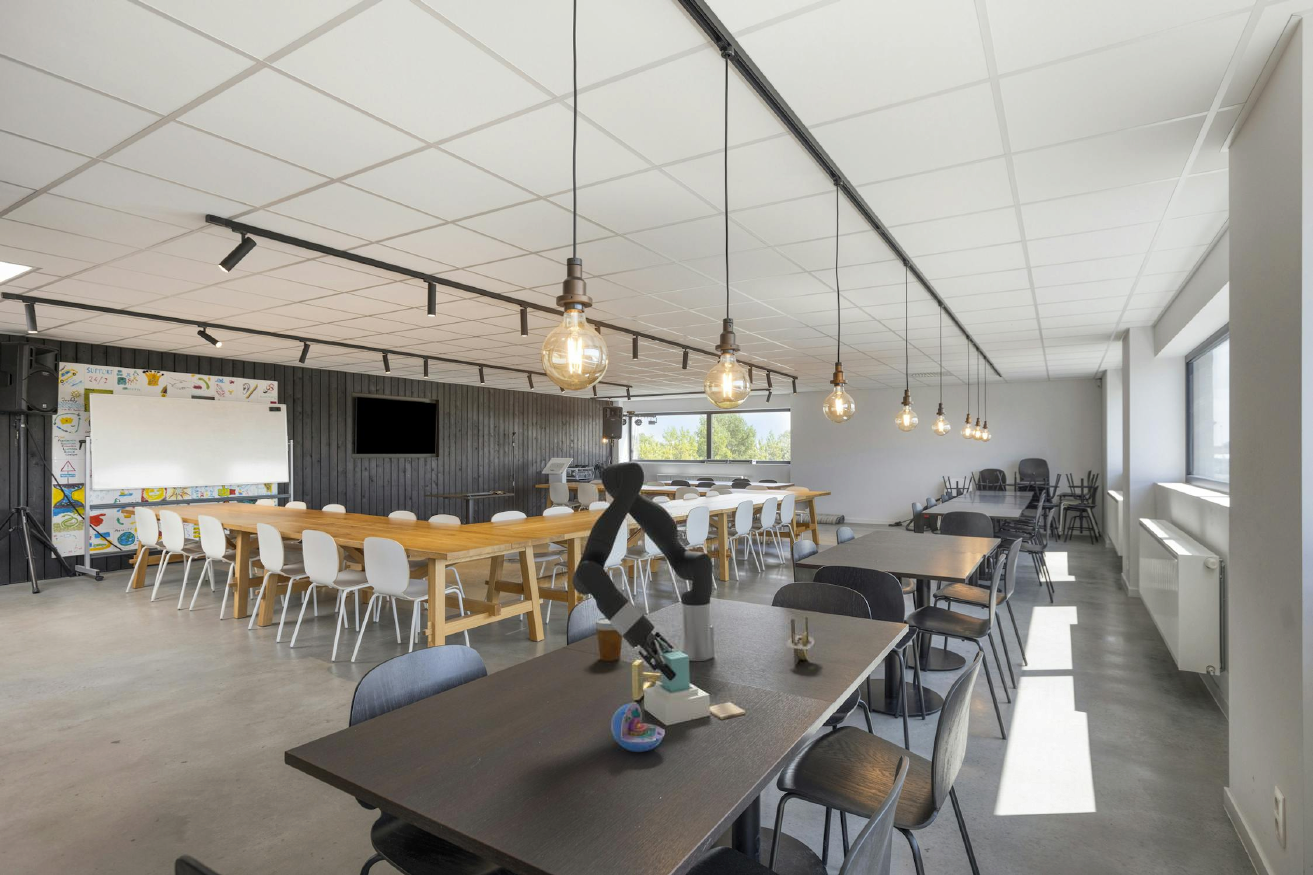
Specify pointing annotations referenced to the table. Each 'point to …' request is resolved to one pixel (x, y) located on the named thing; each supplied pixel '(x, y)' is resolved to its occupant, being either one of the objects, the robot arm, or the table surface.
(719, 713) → the pad
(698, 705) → the housing
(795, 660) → the two-pronged ringed stand
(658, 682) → the key socket
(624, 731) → the cell model
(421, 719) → the table surface
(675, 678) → the teal upright prism
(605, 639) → the disposable coffee cup
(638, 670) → the key lever
